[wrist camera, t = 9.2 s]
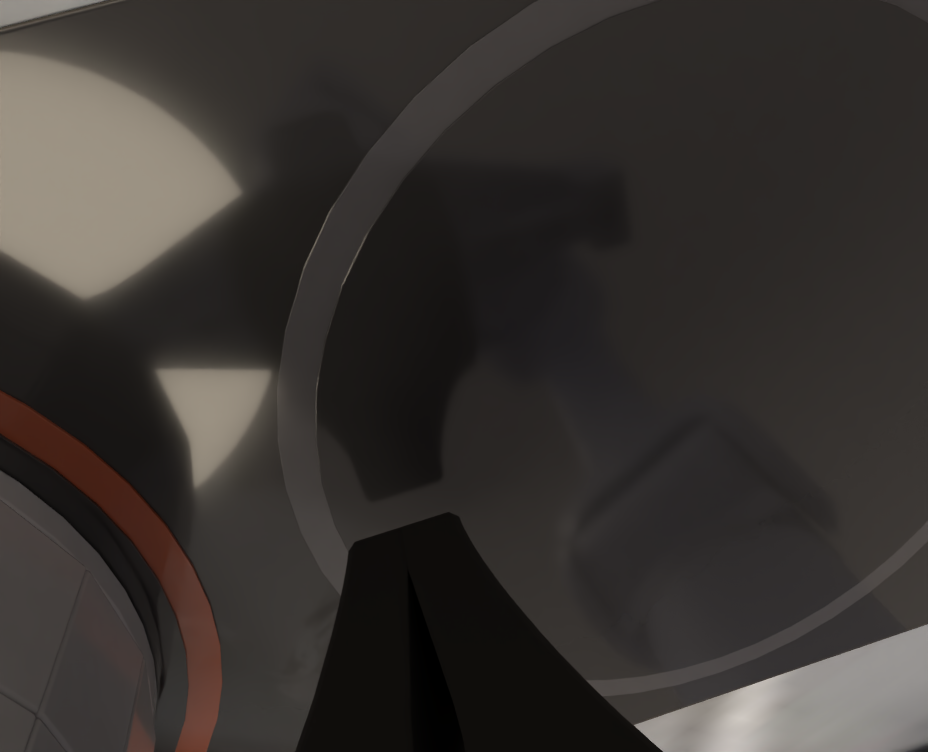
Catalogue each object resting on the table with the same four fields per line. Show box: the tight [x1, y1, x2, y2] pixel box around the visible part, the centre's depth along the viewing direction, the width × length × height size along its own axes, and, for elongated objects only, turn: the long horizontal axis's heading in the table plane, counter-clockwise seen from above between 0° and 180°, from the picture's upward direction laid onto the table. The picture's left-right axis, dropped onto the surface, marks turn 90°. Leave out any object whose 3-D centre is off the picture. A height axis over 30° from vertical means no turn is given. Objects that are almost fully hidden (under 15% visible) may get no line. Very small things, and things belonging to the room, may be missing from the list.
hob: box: [0, 0, 928, 752], centre depth 11 cm, size 14×28×1 cm, turn 102°
